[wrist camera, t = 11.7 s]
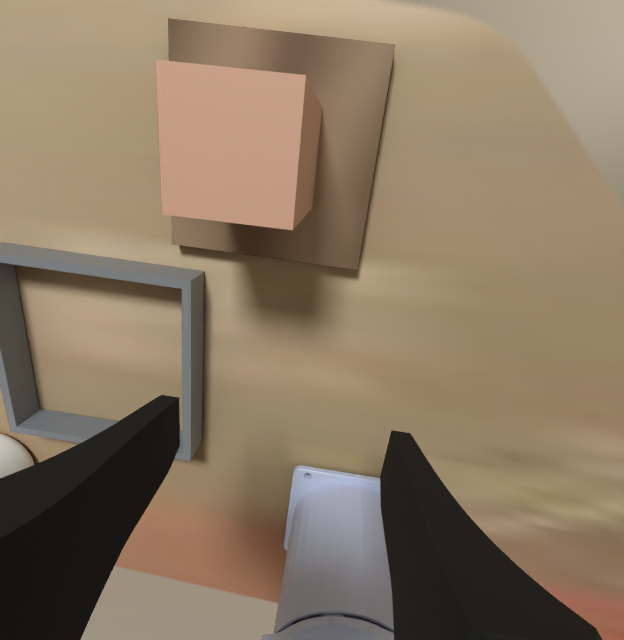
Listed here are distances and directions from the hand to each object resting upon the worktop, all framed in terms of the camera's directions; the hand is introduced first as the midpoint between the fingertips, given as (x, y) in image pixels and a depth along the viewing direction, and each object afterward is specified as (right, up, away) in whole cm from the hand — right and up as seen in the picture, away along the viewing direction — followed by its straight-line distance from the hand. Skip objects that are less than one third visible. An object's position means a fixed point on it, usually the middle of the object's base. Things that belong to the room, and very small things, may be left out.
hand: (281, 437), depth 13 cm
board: (-1, +12, +7) cm, 14 cm away
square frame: (-12, +2, +12) cm, 17 cm away
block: (-1, +12, +6) cm, 13 cm away
